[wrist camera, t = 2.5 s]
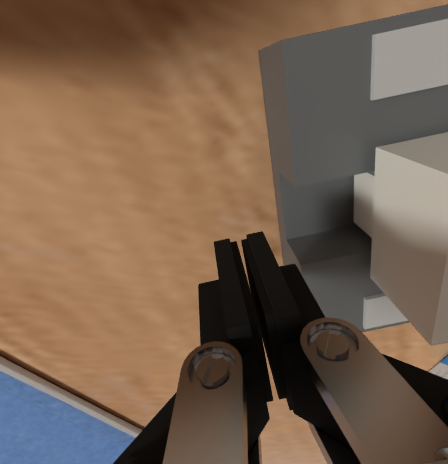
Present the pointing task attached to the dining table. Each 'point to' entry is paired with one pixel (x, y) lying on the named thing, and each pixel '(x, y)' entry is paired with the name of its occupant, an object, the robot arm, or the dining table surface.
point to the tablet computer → (54, 424)
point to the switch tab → (409, 229)
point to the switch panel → (347, 142)
